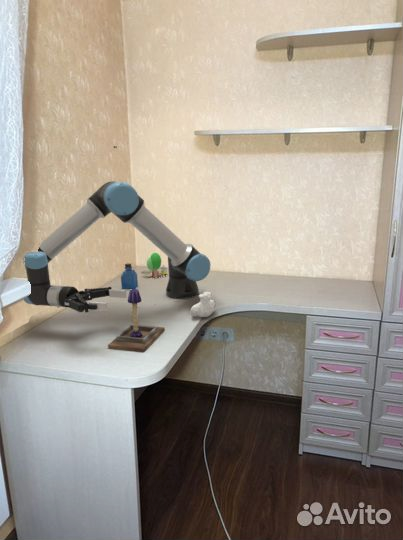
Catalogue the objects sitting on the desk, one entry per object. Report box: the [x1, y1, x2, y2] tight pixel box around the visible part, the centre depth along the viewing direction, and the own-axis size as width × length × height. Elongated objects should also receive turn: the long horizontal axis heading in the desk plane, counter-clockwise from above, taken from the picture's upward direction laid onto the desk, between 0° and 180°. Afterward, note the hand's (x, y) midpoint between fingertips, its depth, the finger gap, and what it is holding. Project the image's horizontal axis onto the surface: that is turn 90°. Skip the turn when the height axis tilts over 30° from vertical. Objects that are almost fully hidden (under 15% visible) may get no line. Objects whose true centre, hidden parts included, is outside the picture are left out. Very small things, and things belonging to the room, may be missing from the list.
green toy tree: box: [146, 252, 168, 279], centre depth 220 cm, size 15×14×14 cm
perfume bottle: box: [120, 263, 139, 290], centre depth 200 cm, size 6×6×12 cm
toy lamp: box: [127, 288, 142, 338], centre depth 140 cm, size 5×5×17 cm
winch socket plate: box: [107, 324, 165, 353], centre depth 142 cm, size 18×13×3 cm
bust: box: [189, 291, 216, 318], centre depth 160 cm, size 12×8×11 cm
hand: (116, 300), depth 140 cm, fingers open, 13 cm apart
